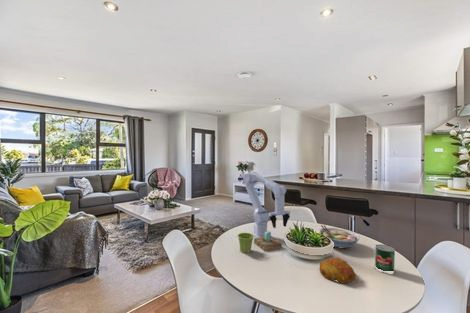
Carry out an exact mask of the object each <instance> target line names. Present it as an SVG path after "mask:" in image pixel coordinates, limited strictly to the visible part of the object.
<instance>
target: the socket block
mask: <svg viewBox="0 0 470 313" xmlns="http://www.w3.org/2000/svg"><path fill="white" fill-rule="evenodd" d="M253 244H254V245H255V246H257V247H259V248H260V249H261V250H262V251H263V252H265V251H266V252H267V251H271V250H277V249H282V242H281V241H280V240H278V239H276V238H275V237H273V236H272V235H271V242H267V243H266V242H265V237H259V238H257V237H254V238H253Z"/></svg>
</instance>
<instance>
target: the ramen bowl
mask: <svg viewBox="0 0 470 313" xmlns="http://www.w3.org/2000/svg"><path fill="white" fill-rule="evenodd" d="M320 226H321V227H322V228H321V229H319V232H318V233H319V234H320V233H323V234H324V235H325V236H326V237H328V238H329V239H331V240H332V241H333V242H334V246H333V247H335V246H336V247H335V248H338V247H344V248H350V247H353V246H354V245H355V244H357V243H358V241H359V240H360V238H361V237H360V235H359V234H358V233H356V232H354V231H352V230H348V229H345V228H341V227H340V228H338V227H327V226H326V225H322V224H320Z"/></svg>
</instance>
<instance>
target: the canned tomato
mask: <svg viewBox="0 0 470 313" xmlns="http://www.w3.org/2000/svg"><path fill="white" fill-rule="evenodd" d="M374 251H375V253H374V254H375V255H374V256H375V257H374V261H375V262H374V267H375V266H376V267H377V268H378V269H381V270H383V271H394V272H395V258H396V257H395V252H396V249H395V248H394V247H392V246H390V245H386V244H376V245H375V250H374Z"/></svg>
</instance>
